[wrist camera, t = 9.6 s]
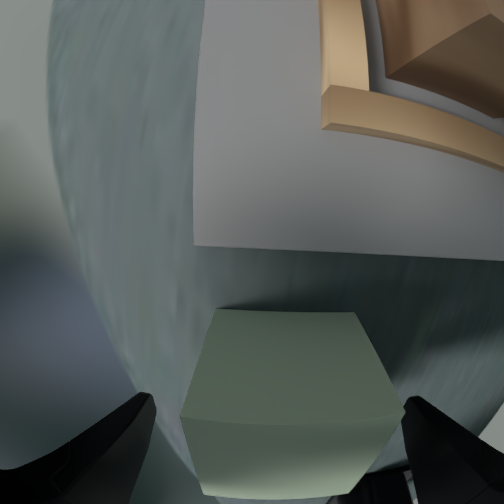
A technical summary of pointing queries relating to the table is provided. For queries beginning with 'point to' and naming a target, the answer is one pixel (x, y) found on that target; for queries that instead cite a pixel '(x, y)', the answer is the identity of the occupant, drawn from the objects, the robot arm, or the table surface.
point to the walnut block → (447, 49)
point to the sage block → (287, 405)
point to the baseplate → (334, 141)
